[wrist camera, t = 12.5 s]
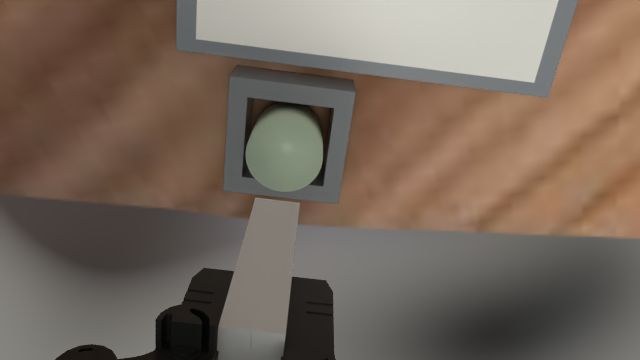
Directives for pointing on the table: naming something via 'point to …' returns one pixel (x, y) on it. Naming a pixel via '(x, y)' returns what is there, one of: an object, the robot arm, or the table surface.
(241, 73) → the button housing
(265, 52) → the picture board
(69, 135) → the table surface
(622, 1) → the table surface
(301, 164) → the button
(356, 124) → the table surface
